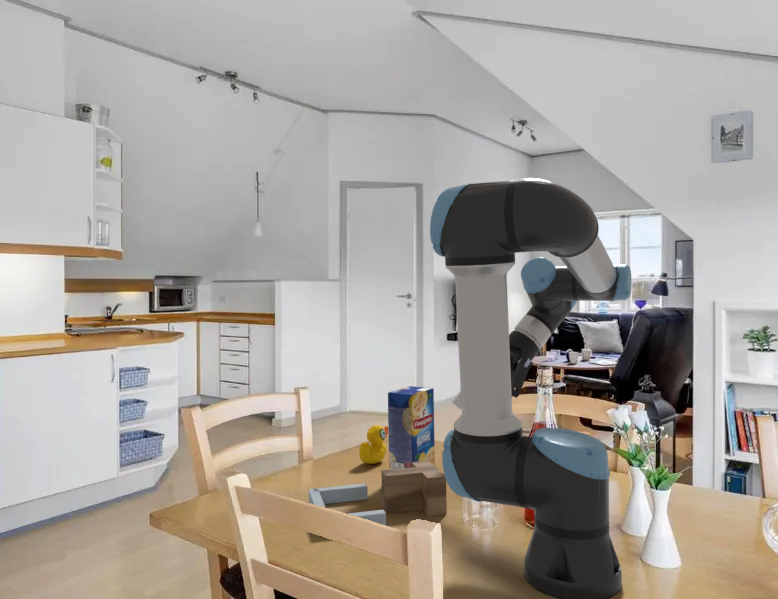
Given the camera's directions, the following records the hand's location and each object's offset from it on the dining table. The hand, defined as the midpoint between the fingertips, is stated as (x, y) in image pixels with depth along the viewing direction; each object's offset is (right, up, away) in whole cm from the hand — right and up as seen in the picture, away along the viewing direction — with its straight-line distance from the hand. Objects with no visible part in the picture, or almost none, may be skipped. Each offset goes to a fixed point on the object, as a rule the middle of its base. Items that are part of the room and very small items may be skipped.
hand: (469, 411), depth 134 cm
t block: (-13, -20, -3) cm, 24 cm away
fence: (-27, -20, -7) cm, 34 cm away
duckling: (-22, -20, +31) cm, 42 cm away
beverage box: (-12, -20, +17) cm, 29 cm away
